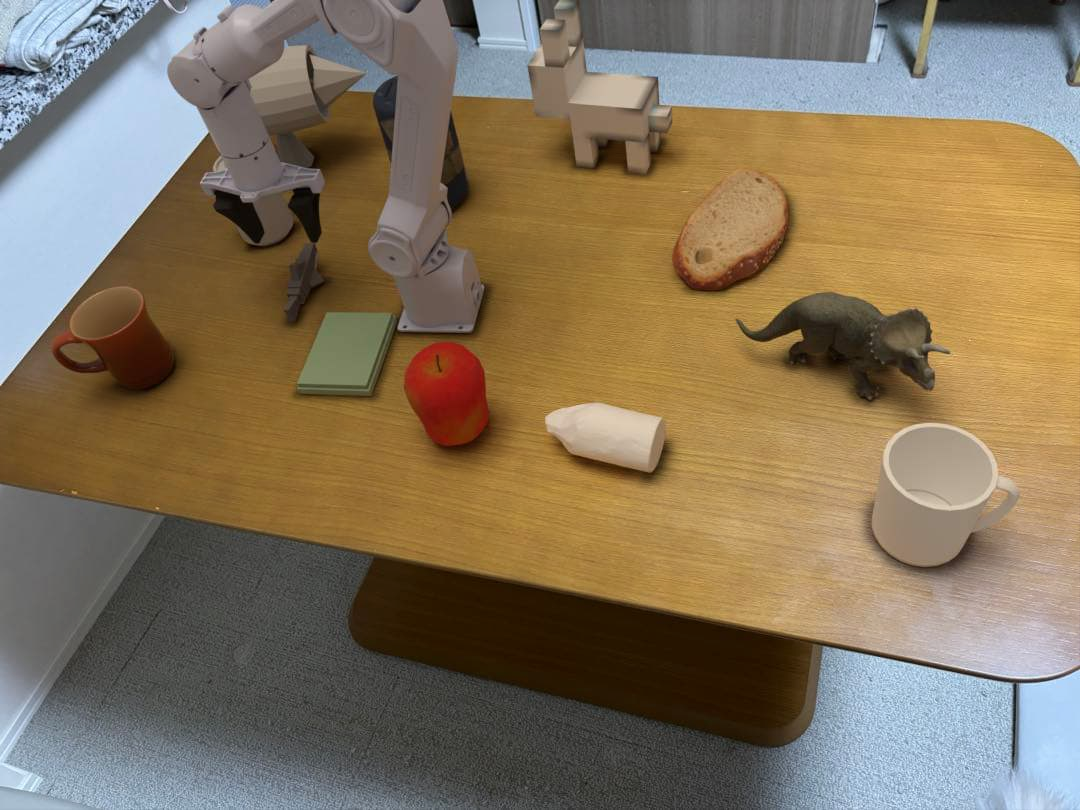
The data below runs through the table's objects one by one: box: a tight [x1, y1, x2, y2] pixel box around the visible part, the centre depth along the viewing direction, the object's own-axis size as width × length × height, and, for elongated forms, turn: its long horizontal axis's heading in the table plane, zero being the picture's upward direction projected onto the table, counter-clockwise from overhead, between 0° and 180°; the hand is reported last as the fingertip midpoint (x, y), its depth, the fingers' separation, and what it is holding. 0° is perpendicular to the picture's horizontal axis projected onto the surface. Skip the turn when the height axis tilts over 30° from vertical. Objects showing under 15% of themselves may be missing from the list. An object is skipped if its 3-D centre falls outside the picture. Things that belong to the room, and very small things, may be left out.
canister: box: [372, 75, 469, 209], centre depth 118 cm, size 10×10×18 cm
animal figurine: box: [282, 242, 325, 323], centre depth 114 cm, size 12×4×5 cm, turn 171°
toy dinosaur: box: [735, 291, 952, 401], centre depth 91 cm, size 22×8×11 cm, turn 49°
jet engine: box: [249, 44, 367, 169], centre depth 128 cm, size 15×20×18 cm
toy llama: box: [526, 0, 673, 175], centre depth 118 cm, size 8×18×20 cm, turn 69°
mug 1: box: [50, 285, 175, 390], centre depth 106 cm, size 12×9×10 cm
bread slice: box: [671, 167, 789, 291], centre depth 110 cm, size 18×18×4 cm
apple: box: [403, 340, 490, 447], centre depth 93 cm, size 9×8×12 cm
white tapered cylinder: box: [544, 401, 667, 473], centre depth 91 cm, size 6×12×6 cm, turn 68°
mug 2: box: [871, 422, 1020, 568], centre depth 78 cm, size 11×9×10 cm
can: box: [212, 155, 295, 247], centre depth 121 cm, size 8×8×12 cm
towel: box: [296, 311, 398, 397], centre depth 107 cm, size 9×12×2 cm
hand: (288, 237), depth 110 cm, fingers open, 7 cm apart
